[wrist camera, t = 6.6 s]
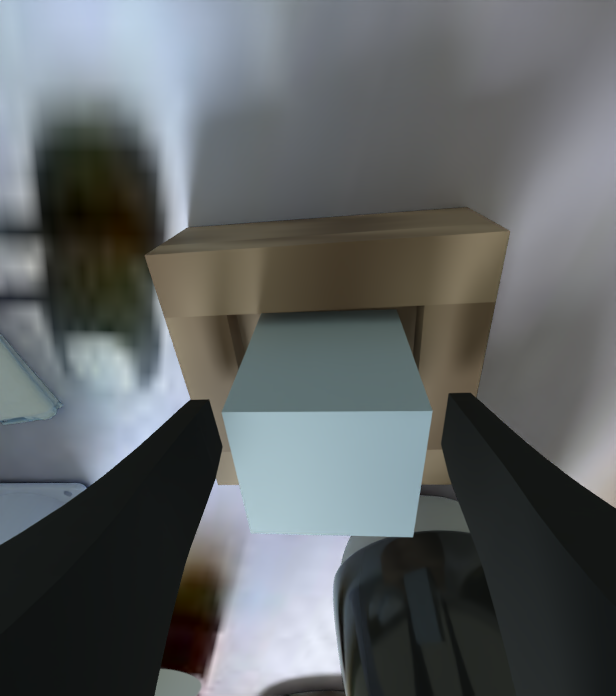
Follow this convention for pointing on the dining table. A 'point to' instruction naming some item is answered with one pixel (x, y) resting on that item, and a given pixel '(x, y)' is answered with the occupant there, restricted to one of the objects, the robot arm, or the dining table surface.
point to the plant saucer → (320, 693)
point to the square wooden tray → (335, 296)
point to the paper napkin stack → (22, 390)
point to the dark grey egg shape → (419, 612)
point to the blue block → (329, 425)
